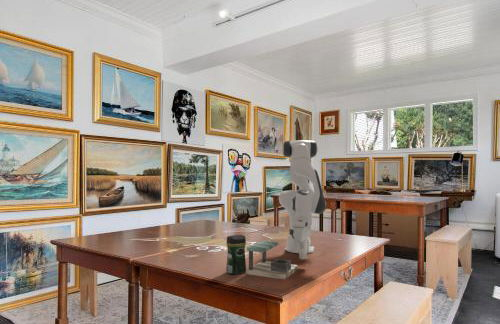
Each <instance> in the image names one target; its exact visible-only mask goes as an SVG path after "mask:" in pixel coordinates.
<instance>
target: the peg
mask: <svg viewBox="0 0 500 324" xmlns="http://www.w3.org/2000/svg"><path fill="white" fill-rule="evenodd" d="M303 245H304V248H303V249H300V245H299V253H298V254H299V255H298V258H299V259H300V260H307V259H308V253H307V236H306V239H305V240H304V241H303Z"/></svg>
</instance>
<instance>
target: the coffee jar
mask: <svg viewBox="0 0 500 324" xmlns="http://www.w3.org/2000/svg"><path fill="white" fill-rule="evenodd" d="M246 244H247V240H246V236H245V235H243V234H235V235H233V234H232V235H228V236H226V247H227V258H226V269H225V270H226V273H227V274H230V275H239V274H240V275H241V274H244V273H247V265H246V264H247V262H246V252H245V251H246Z"/></svg>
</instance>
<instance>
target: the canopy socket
mask: <svg viewBox="0 0 500 324" xmlns="http://www.w3.org/2000/svg"><path fill="white" fill-rule="evenodd" d="M278 245H279V241H273V240H261V241H259V242H256V243H254V244H252V245H251V244H250V245H249V246H247V247H246V251H247V252H248V269H247V268H246V274H247V275H251V276H259V277H265V278H271V279H272V278H273V279H279V280H284V281H285V280H287V279H288V278H289V277H290V276H291V275H293V274H294V273H295V272H296V271H297V270H299V264H292V260H291V259H290V260H288V259H280V258H276V259H274V260H272V261H267V251H270V250H271V249H273V248H275V247H277V246H278ZM254 252H256V253H261V257H262V258H261V261H259V262H258V263H257V264H254Z"/></svg>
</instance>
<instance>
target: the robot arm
mask: <svg viewBox="0 0 500 324" xmlns="http://www.w3.org/2000/svg"><path fill="white" fill-rule="evenodd" d="M281 146H282V147H281V152H282V154H283V156H284V157H285V158H291V159H290V166H289V169H290V172H289V179H290V182H291V184H293V185H296V186H298V189H297V190H295V189H293V190H292V189H290V190H284V191H283V190H282V191H281V192H280V193H279V195H278V203H279V205H281V206H282V207H283V208H284V210H285V211H286V212H287V214H288V217H289V230H288V232H289V233H288V234H289V235H288V236H287V237H286V247H284V250H285V251H287V252H288V253H292V254H293V253H294V254H299V245H300V249H303V248H304V245H303V241H304V240H305V239H306V236H307V254H312V253H314V250H315V246H313V245H312V239H311V238H310V237H312V226H313V225H312V224H313V215H312V214H315V215H322V213H324V212H325V211H326V210H327V209H326V207H327V202H326V199H325V195H324V191H323V189H322V188H323V187H322V185H321V180H320V177H319V173H318V171H317V169H315V168H314V167H313V166H312V163H311V162H312V161H311V159H312V158H315V156H317V153H318V149H319V148H318V147H319V146H318V143H317V142H316V141H315V140H306V139H299V140H298V139H297V140H286V141H284V142H283V144H282V145H281ZM310 183H311V184H312V187H313V188H312V187H311V185H310Z"/></svg>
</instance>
